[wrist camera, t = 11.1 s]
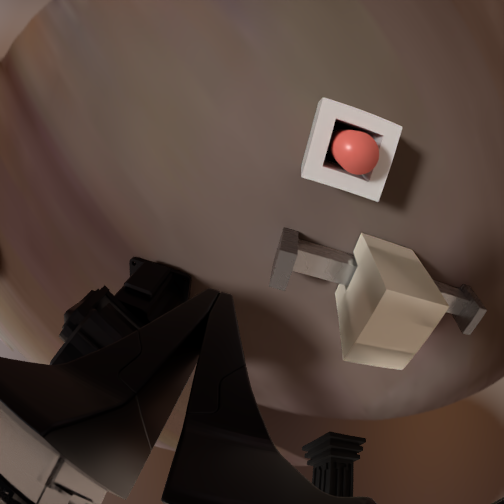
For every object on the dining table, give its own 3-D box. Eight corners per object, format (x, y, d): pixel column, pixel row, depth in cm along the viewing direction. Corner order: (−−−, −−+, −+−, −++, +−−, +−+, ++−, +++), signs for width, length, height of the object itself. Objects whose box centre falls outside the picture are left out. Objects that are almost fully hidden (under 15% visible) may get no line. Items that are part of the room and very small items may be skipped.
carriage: (382, 305, 23) (402, 370, 16) (334, 292, 23) (342, 360, 16) (412, 249, 20) (449, 306, 13) (361, 232, 20) (386, 289, 14)
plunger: (354, 165, 18) (371, 180, 14) (323, 155, 18) (331, 166, 14) (364, 135, 17) (384, 140, 12) (332, 124, 17) (343, 125, 13)
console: (364, 186, 19) (378, 202, 15) (301, 166, 19) (301, 177, 16) (383, 125, 17) (402, 126, 13) (318, 102, 17) (323, 97, 13)
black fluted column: (302, 446, 39) (289, 543, 22) (329, 431, 35) (321, 543, 18) (337, 453, 40) (331, 542, 22) (365, 438, 36) (365, 539, 18)
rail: (455, 309, 22) (469, 335, 19) (274, 259, 23) (268, 286, 19) (469, 286, 21) (487, 310, 17) (283, 227, 22) (279, 250, 18)
